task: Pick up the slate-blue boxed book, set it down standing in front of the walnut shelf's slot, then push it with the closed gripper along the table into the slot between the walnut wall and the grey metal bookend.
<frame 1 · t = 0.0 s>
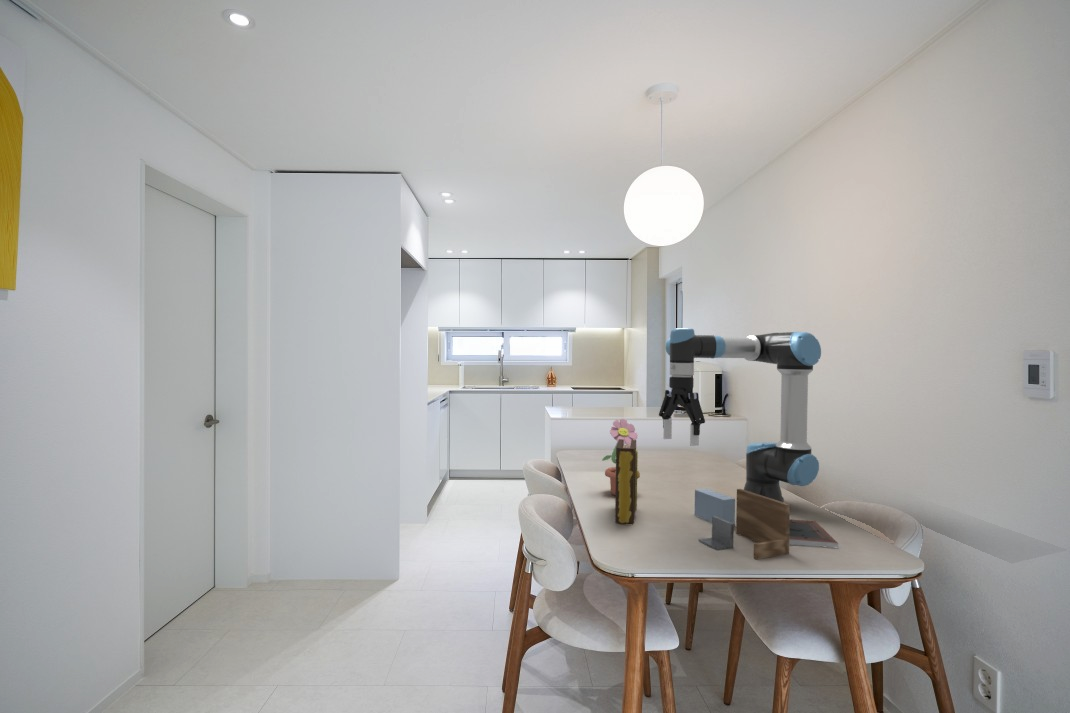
hand: (680, 442, 176), 28 cm above the table, fingers open, 13 cm apart
shelf: (746, 545, 162), on the table
boxed book: (714, 520, 186), on the table
bookend: (722, 543, 163), on the table
picture frame: (797, 537, 173), on the table
book: (625, 515, 191), on the table
decorative flower: (620, 494, 218), on the table
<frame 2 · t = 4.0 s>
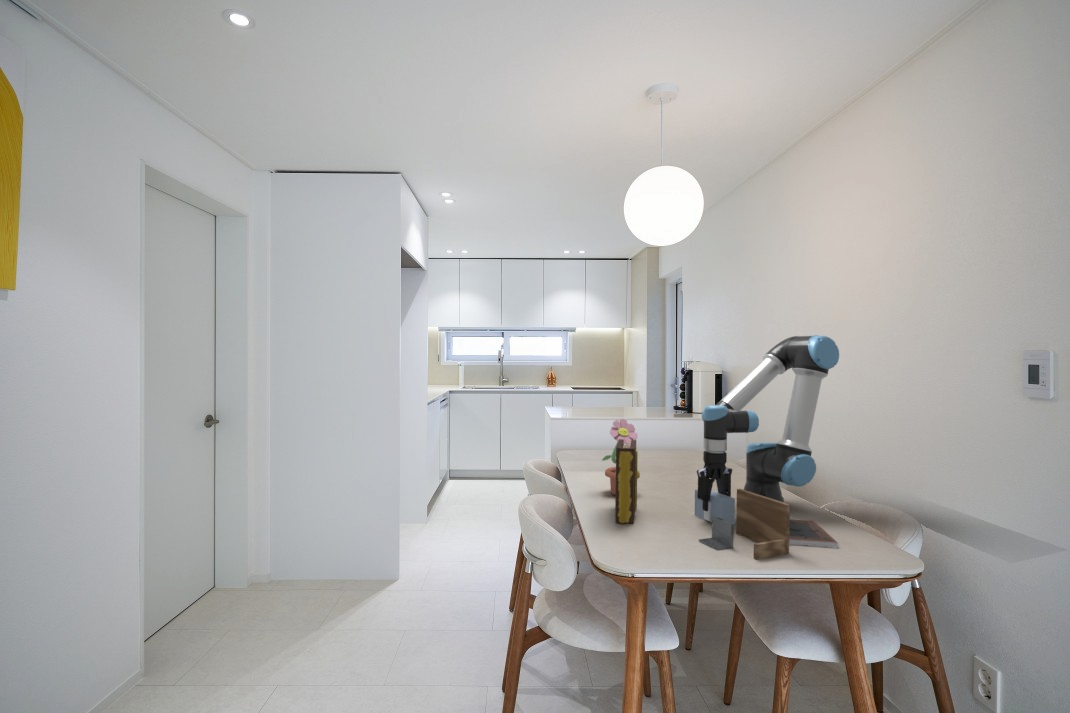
hand: (713, 519, 186), 0 cm above the table, fingers closed on boxed book, 5 cm apart
boxed book: (713, 520, 186), on the table, touching gripper
everything else where it was.
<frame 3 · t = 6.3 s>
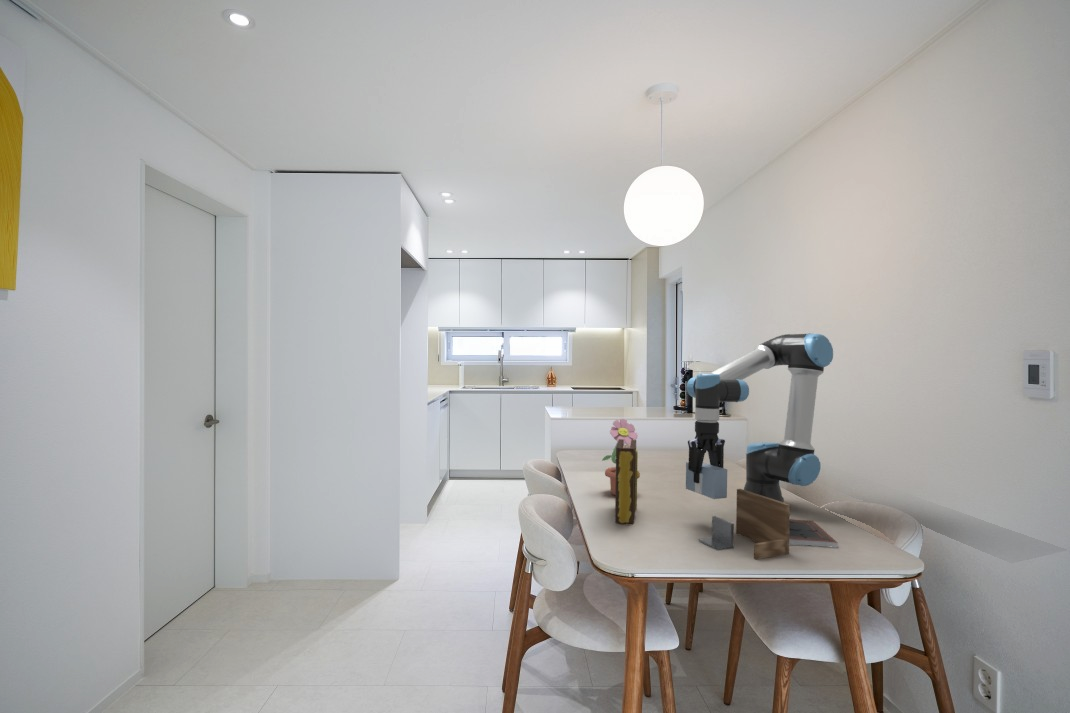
hand: (705, 492, 178), 11 cm above the table, fingers closed on boxed book, 5 cm apart
boxed book: (705, 493, 178), point 11 cm above the table, touching gripper
everything else where it was.
when the fingers open (1 cm above the table, at t = 8.3 s): boxed book drops 1 cm, on the table.
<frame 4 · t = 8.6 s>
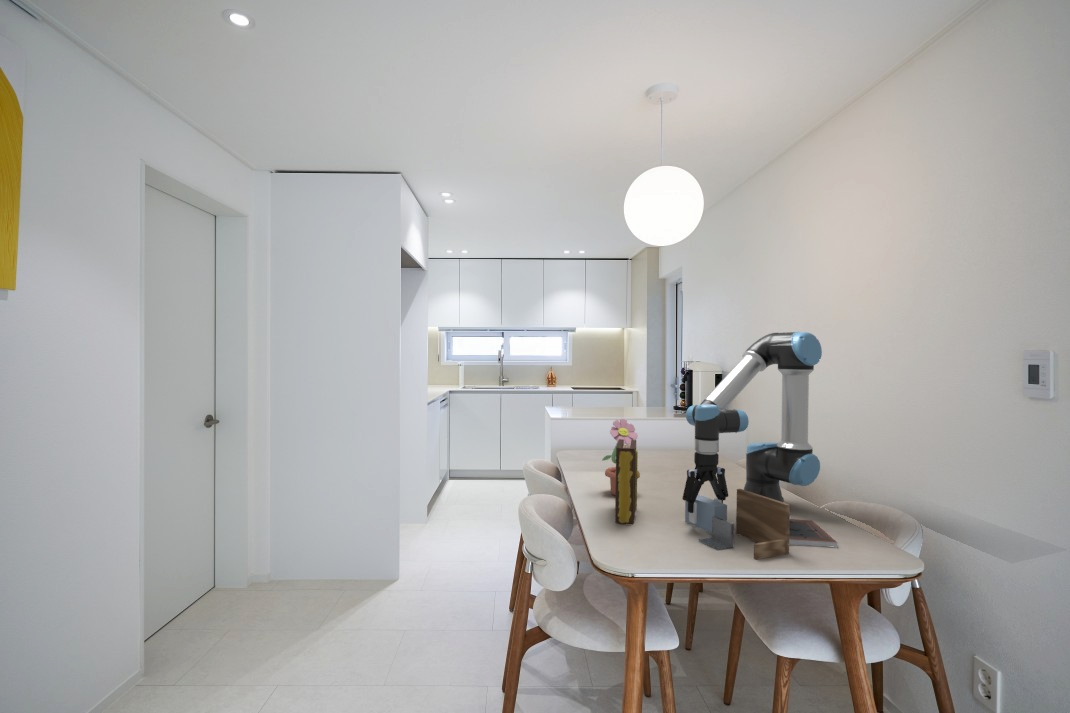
hand: (705, 520, 178), 2 cm above the table, fingers open, 9 cm apart
boxed book: (705, 527, 178), on the table
everything else where it was.
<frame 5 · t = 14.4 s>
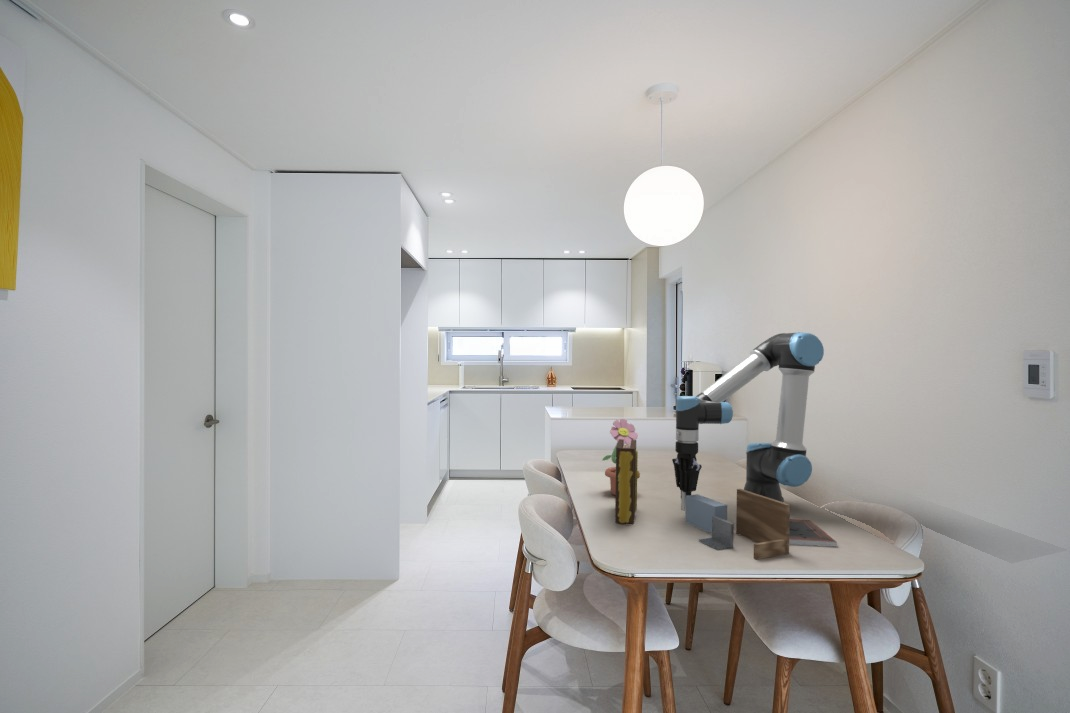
hand: (685, 509, 188), 3 cm above the table, fingers closed
boxed book: (705, 527, 178), on the table, touching gripper
everything else where it was.
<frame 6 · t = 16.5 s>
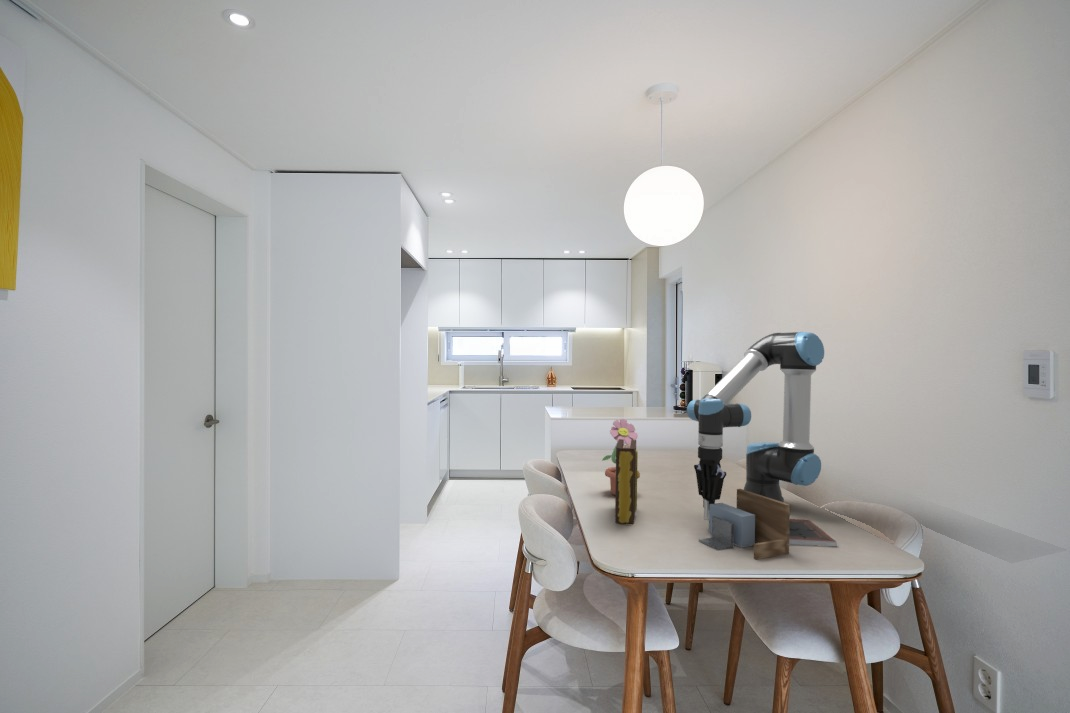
hand: (708, 519, 177), 3 cm above the table, fingers closed
boxed book: (731, 538, 168), on the table, touching gripper
everything else where it was.
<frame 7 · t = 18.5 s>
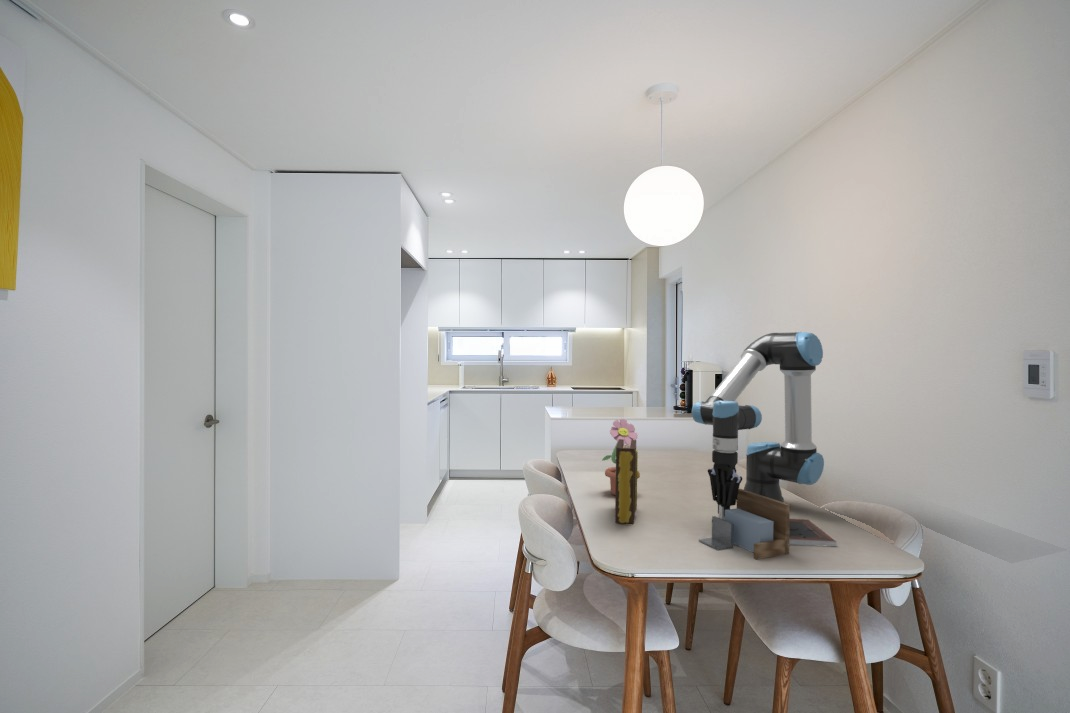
hand: (723, 525, 171), 3 cm above the table, fingers closed
boxed book: (747, 545, 162), on the table, touching gripper
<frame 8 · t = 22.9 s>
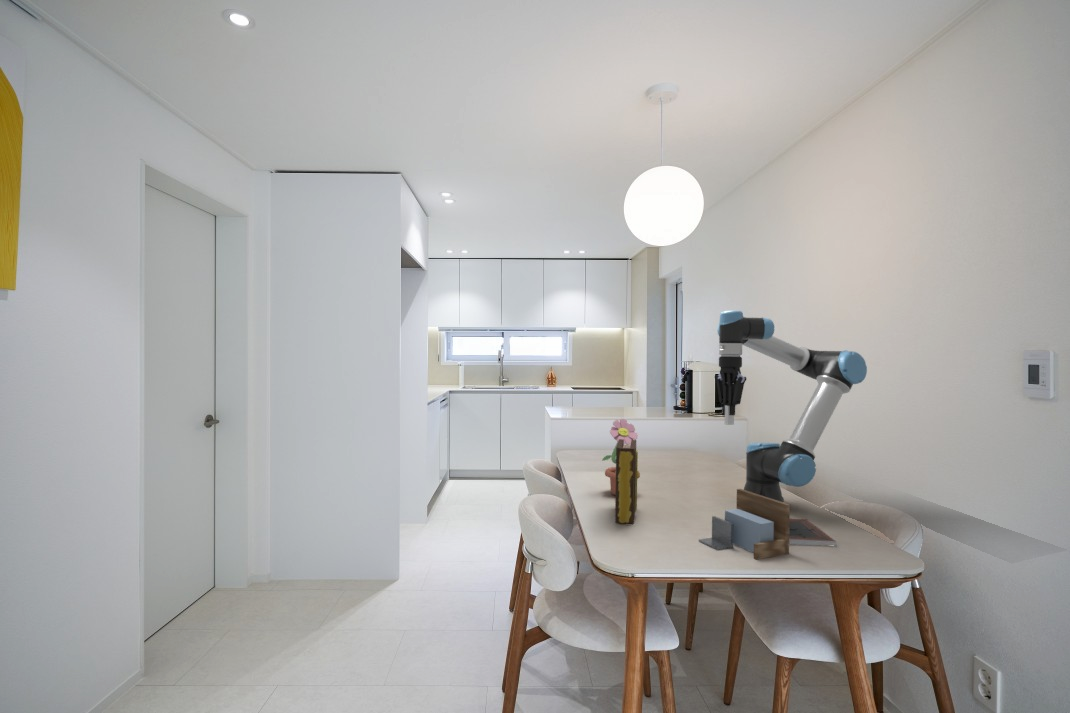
hand: (729, 424, 188), 32 cm above the table, fingers closed
boxed book: (748, 546, 161), on the table
at the end: boxed book inside the target area (0.1 cm from its centre), on the table; boxed book tilted 0°; the gripper is holding nothing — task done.
